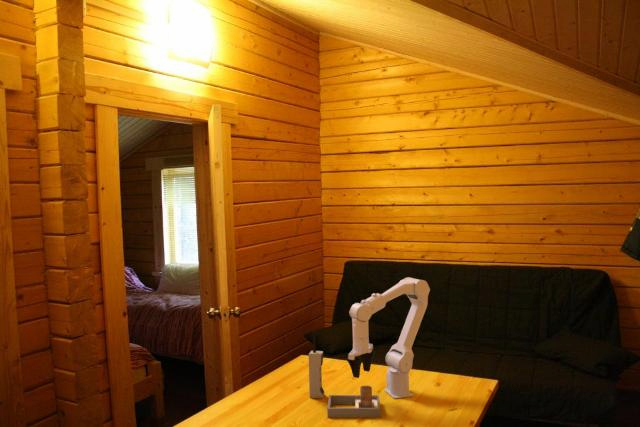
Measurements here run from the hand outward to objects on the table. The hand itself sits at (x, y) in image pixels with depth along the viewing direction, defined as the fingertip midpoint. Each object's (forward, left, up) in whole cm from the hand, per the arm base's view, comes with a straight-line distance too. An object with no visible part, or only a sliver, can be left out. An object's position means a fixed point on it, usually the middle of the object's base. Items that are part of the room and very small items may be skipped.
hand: (361, 374), depth 188 cm
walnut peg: (+7, -1, -10) cm, 13 cm away
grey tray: (+6, -5, -10) cm, 13 cm away
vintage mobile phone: (-11, -14, -11) cm, 21 cm away
